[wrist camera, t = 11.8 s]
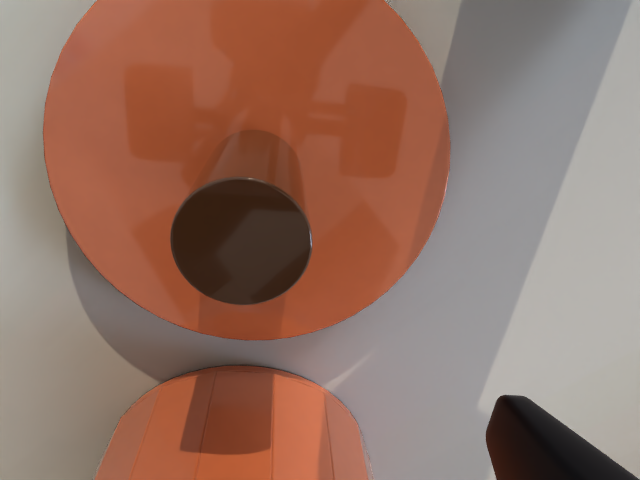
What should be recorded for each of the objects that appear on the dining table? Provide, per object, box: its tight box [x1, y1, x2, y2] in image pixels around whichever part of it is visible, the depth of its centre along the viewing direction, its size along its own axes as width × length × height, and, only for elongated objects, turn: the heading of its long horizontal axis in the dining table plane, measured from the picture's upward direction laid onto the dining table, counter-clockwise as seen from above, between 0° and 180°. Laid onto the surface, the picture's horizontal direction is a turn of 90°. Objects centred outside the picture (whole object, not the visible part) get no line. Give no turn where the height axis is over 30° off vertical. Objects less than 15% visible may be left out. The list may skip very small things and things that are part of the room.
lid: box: [43, 0, 450, 340], centre depth 13 cm, size 13×13×7 cm
